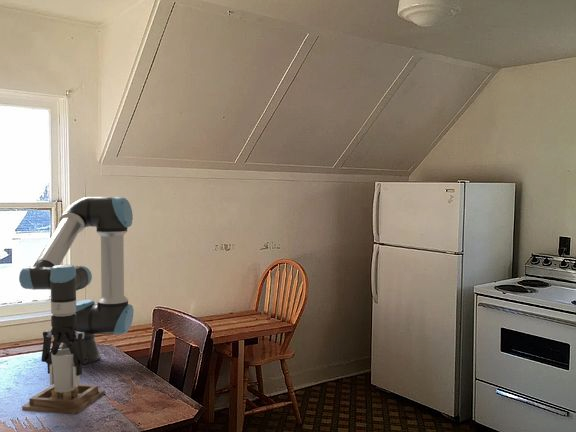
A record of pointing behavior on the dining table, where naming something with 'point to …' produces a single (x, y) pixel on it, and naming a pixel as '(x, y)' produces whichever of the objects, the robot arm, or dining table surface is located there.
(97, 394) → the peg stand
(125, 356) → the dining table surface
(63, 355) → the cup
